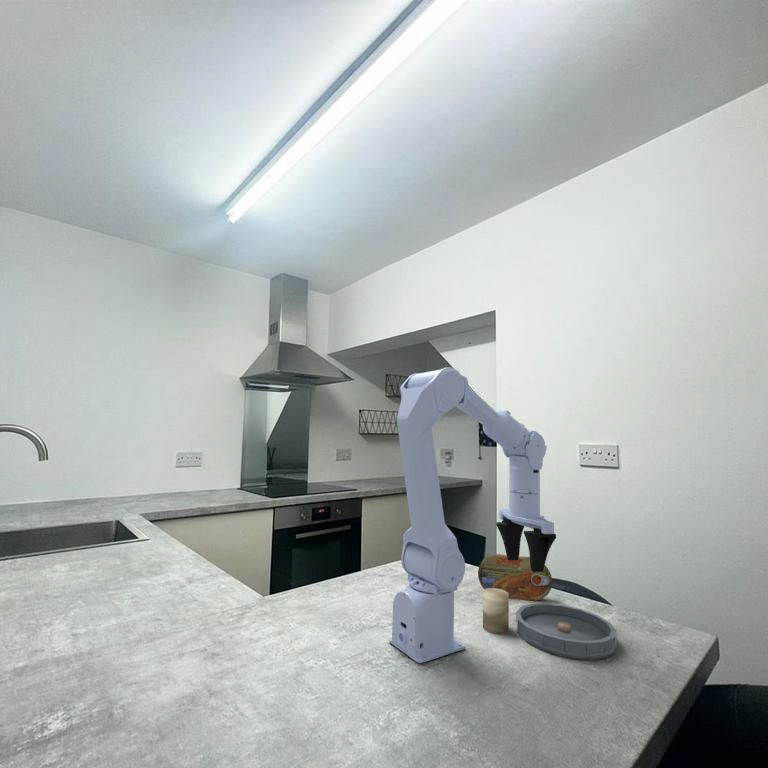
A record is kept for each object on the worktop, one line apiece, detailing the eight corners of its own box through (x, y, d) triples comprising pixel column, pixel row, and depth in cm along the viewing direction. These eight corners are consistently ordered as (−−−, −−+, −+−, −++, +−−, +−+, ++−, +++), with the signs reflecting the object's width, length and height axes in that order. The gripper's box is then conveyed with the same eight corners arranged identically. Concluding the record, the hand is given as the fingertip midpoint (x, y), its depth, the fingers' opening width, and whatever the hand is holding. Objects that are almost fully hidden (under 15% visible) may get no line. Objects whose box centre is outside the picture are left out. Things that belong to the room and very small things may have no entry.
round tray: (581, 670, 61) (580, 651, 61) (497, 628, 73) (497, 613, 74) (635, 645, 69) (634, 628, 69) (551, 611, 82) (551, 598, 82)
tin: (477, 594, 90) (478, 553, 91) (478, 589, 93) (478, 549, 94) (552, 603, 86) (552, 561, 87) (550, 598, 89) (550, 557, 90)
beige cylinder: (496, 636, 70) (496, 598, 71) (477, 626, 74) (477, 590, 75) (514, 630, 73) (513, 594, 74) (494, 621, 77) (494, 586, 77)
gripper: (567, 497, 76) (569, 576, 74) (519, 488, 90) (519, 554, 88) (534, 497, 74) (535, 578, 72) (490, 487, 88) (490, 555, 86)
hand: (524, 565), depth 80 cm, fingers open, 7 cm apart
